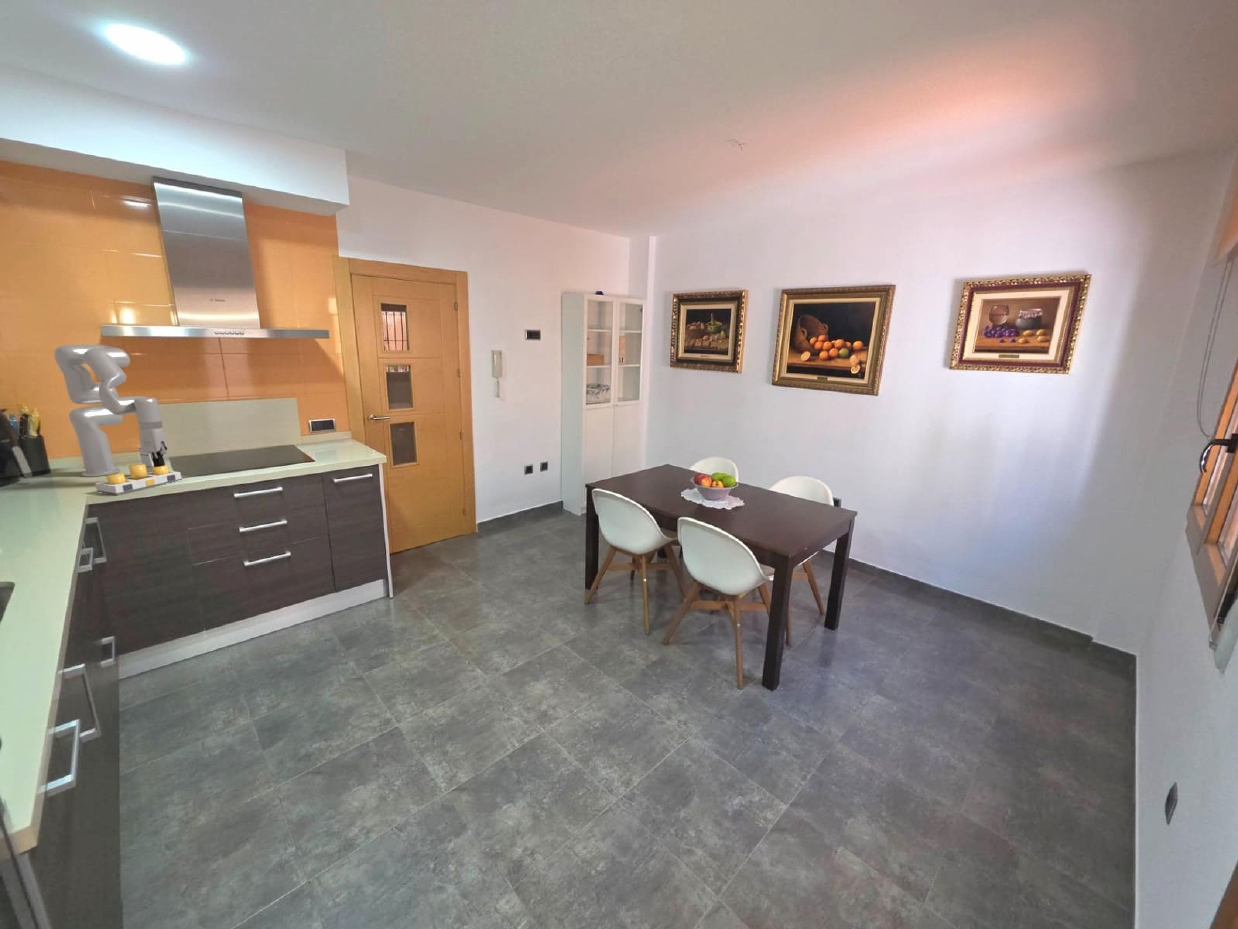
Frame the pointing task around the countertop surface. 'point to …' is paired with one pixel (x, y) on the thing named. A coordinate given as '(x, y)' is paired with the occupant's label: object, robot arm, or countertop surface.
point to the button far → (160, 470)
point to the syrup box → (146, 459)
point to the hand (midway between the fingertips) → (159, 466)
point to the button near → (116, 479)
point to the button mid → (138, 471)
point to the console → (138, 483)
